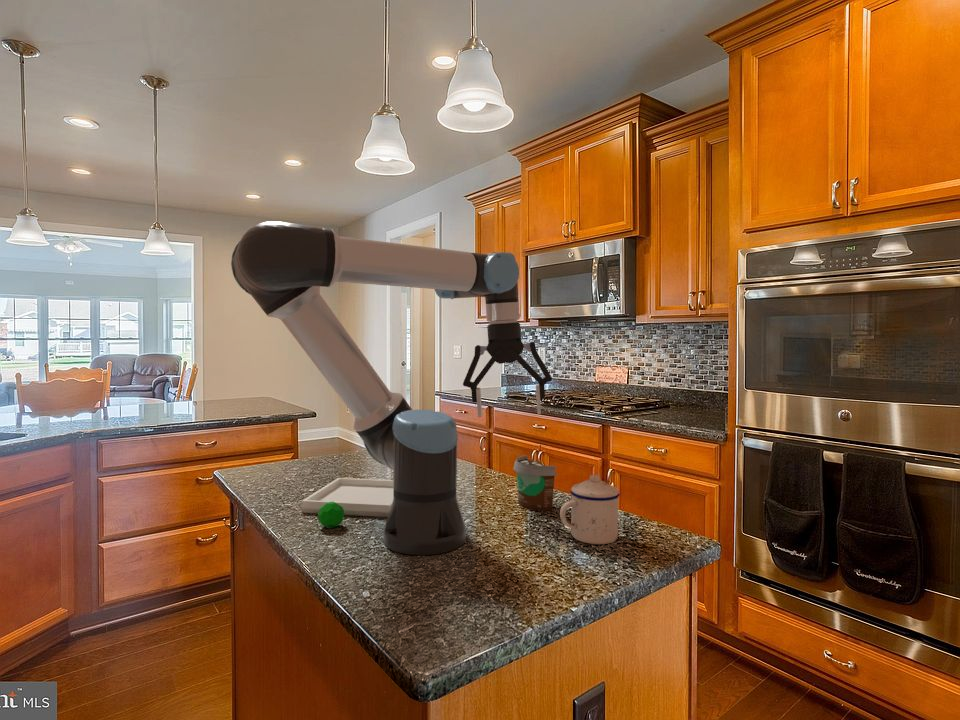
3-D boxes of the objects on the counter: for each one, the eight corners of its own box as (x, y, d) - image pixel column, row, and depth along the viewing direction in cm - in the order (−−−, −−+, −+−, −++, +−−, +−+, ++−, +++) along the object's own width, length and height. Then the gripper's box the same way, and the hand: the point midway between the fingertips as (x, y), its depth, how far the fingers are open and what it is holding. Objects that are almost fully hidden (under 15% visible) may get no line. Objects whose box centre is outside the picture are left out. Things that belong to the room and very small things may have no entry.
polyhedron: (341, 531, 104) (341, 506, 104) (315, 531, 104) (315, 506, 104) (346, 522, 109) (346, 499, 109) (321, 522, 109) (321, 499, 109)
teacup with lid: (599, 525, 108) (600, 468, 108) (629, 541, 100) (630, 479, 99) (547, 534, 103) (548, 473, 103) (574, 551, 95) (575, 485, 94)
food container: (503, 500, 125) (503, 457, 125) (525, 496, 128) (526, 454, 127) (532, 515, 114) (532, 468, 114) (555, 511, 117) (556, 465, 116)
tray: (390, 517, 112) (390, 505, 112) (301, 512, 115) (301, 500, 115) (414, 491, 131) (414, 481, 131) (338, 487, 134) (338, 477, 134)
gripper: (557, 318, 125) (563, 408, 126) (451, 325, 127) (457, 414, 128) (559, 318, 117) (565, 414, 119) (446, 326, 119) (453, 420, 121)
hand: (509, 414), depth 124 cm, fingers open, 13 cm apart
